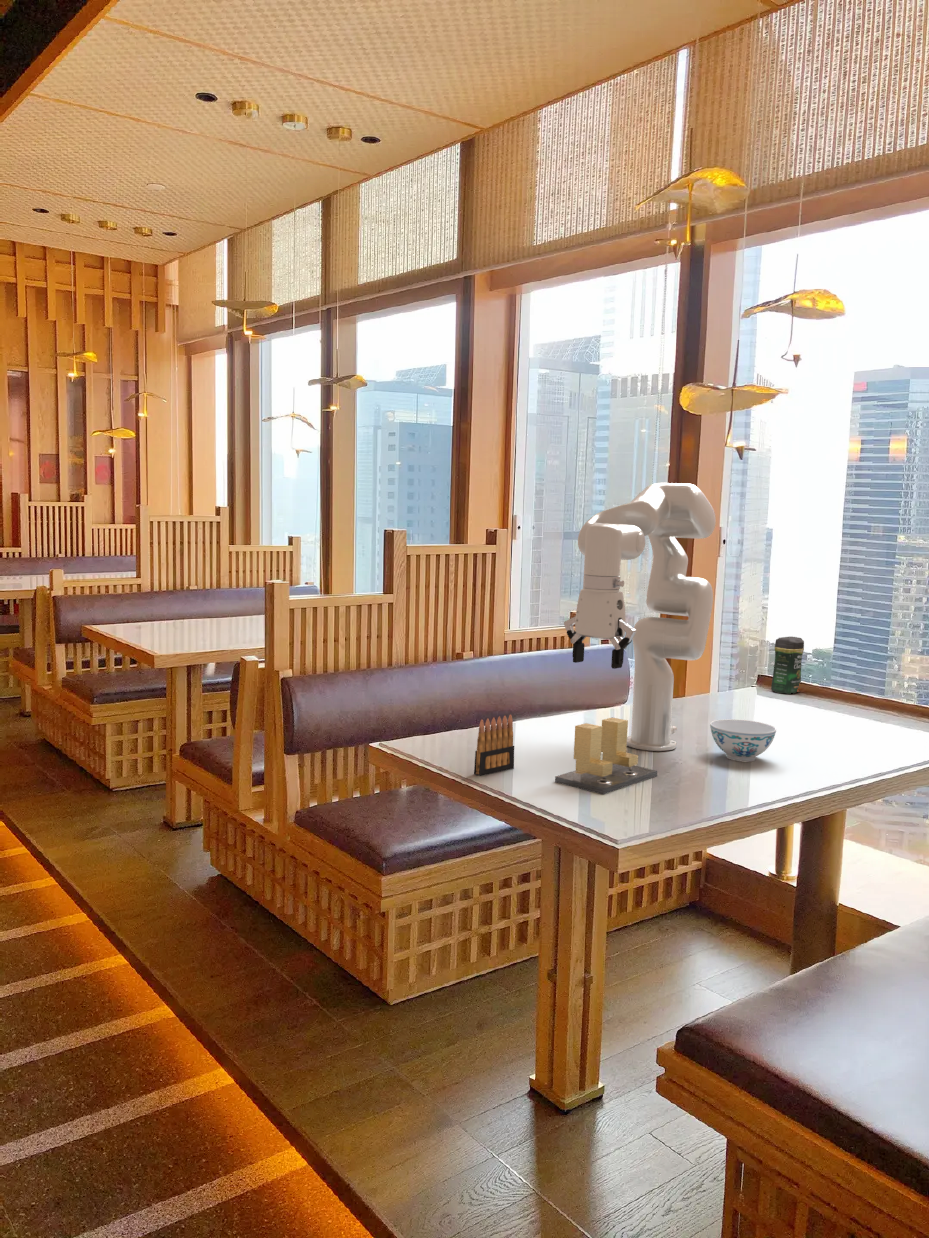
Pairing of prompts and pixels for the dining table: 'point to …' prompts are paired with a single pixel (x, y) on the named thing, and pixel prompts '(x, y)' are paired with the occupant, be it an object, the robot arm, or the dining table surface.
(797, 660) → the coffee jar
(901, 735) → the dining table surface
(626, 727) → the block
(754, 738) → the chinaware
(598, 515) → the robot arm
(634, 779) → the hole plate
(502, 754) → the ammunition clip
